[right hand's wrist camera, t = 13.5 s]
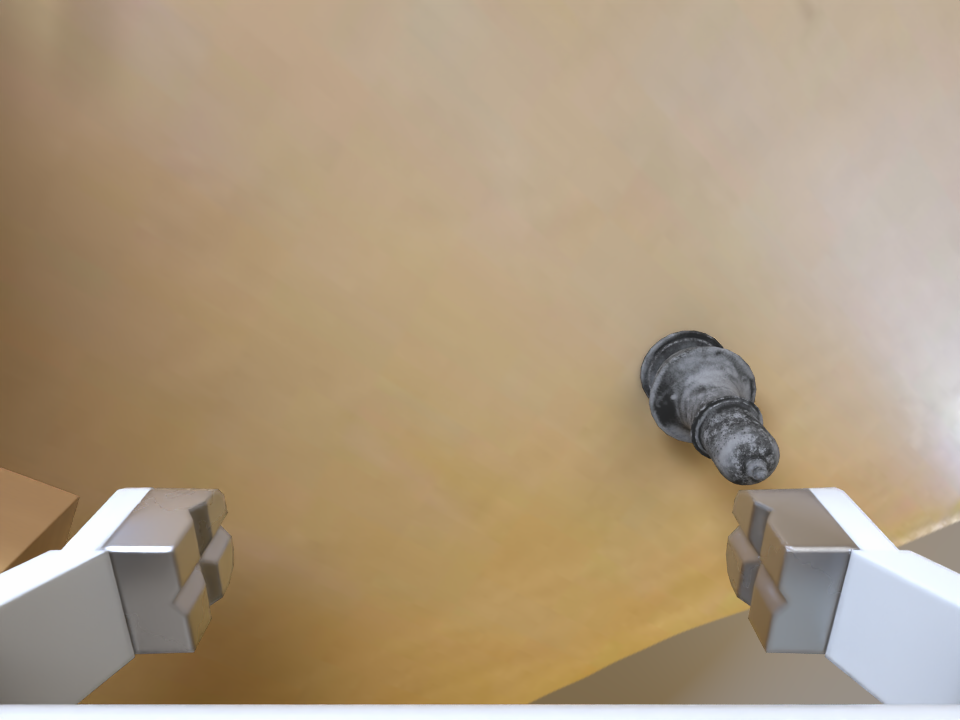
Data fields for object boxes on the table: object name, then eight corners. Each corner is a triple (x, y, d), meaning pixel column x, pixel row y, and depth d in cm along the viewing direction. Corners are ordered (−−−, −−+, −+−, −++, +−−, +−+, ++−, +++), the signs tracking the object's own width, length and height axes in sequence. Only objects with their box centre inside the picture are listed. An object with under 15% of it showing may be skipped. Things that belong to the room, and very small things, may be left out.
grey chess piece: (753, 362, 40) (861, 465, 28) (686, 432, 41) (763, 555, 30) (681, 306, 38) (764, 392, 27) (615, 381, 40) (667, 490, 29)
